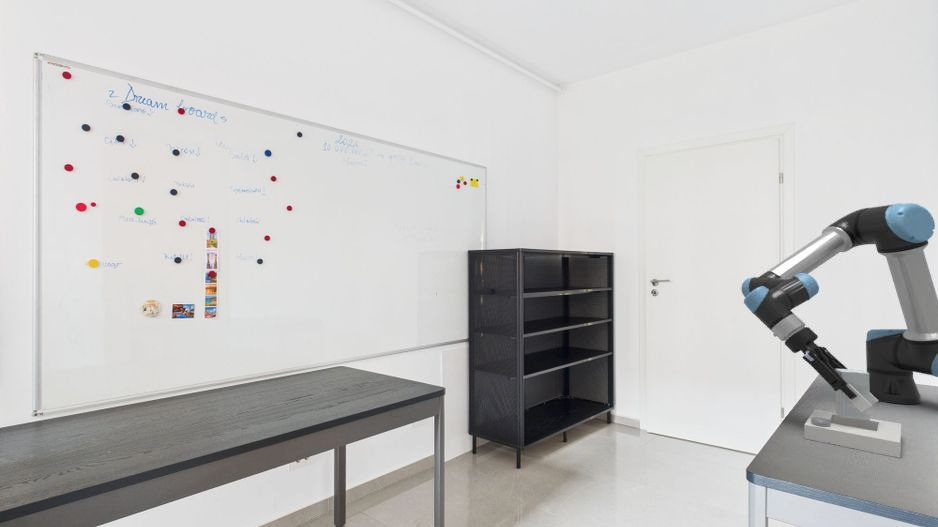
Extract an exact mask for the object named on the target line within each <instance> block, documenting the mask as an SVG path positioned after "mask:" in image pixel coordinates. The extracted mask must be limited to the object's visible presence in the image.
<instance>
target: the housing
mask: <svg viewBox="0 0 938 527" xmlns="http://www.w3.org/2000/svg"><path fill="white" fill-rule="evenodd" d="M803 428H804V429H803V430H804V436H803V437H804V439H805V440H810V441H815V442H820V443H825V444H829V443H830V444H829V445H834V444H835V446H839V445H840V446H839V447H845V448H849V449H853V448H854V449H853V450H859V451H862V452H863V451H864V452H869V453H872V454H873V453H875V454H880V455H884V456H889V457H893V458H899V459H901V454H902V449H901V448H902V423H899V422H893V421H887V420H880V419H874V418H870V420H860V419H847V418H841V417H840V416H839V415H837V414H836V412H833V411H826V410H821V409H813V412H812V413H811V414H810V416H809V417H808V419H807V420H806V422H805V423H804V426H803Z"/></svg>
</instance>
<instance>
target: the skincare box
mask: <svg viewBox="0 0 938 527" xmlns="http://www.w3.org/2000/svg"><path fill="white" fill-rule="evenodd" d="M835 371H836V372H837V373H838V374H839V375H840V376H841V377H842V378H843V380H844V381H845V382H846V383H847V384H850V385H851V386H852V387H853V388H854V389H856V390H857V391H858V392H859V393H860V394H861V395H862V396H863V397H864V398H865V399H866V400H867V401H868V402H869V403H870V385H869V373H867V371H866V370H862V369H848V368H847V369H835ZM835 413H836V414H837V415H839V416H840V417H841V418H847V419H860V420H870V419H871V407H870V408H868V409H867V410H865V411H863V412H861V411H860V410H859V409H858V408H857V407H856V406H855V405H854V404H853V403H852V402H851V401H850V400H849V399H848V398H847V397H846V396H845V395H844V394H843V393H842V392H841V391H840V389H839V390H837V391H835Z"/></svg>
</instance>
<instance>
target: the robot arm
mask: <svg viewBox="0 0 938 527" xmlns="http://www.w3.org/2000/svg"><path fill="white" fill-rule="evenodd" d="M935 226H936V224H935V220H934V217H933V216H932V213H931V212H930V211H929V210H928V209H927V208H926V207H924V206H921V205H920V204H917V203H913V202H908V203H892V204H888V205H887V204H886V205H881V206H875V207H874V206H873V207H865V208H860V209H857V210H854V211H852V212H850V213H848V214H846V215H844V216H842V217H841V218H839V219H838V220H836V221H834V222H833V223H831V224H829V225H828V226H826V227H825V228H823V230H822V231H821V234H820V235H819V236H818V237H816V238H814V239H813V240H811V241H810V242H808V243H807V244H806V245H804V246H803V247H800V249H798V250H797V251H795V252H794V253H793V254H791V255H789V256H788V257H786V258H785V259H783V260H782V261H781V262H779V263H777V264H776V265H774V266H773V267H772V268H770V269H769V270H767V271H766V272H764V273H762V274H761V275H759V276H758V277H755V276H753V277H748V278H746V279H745V280H744V281H743V282H742V283H741V287H740V288H741V294H742V295H743V296H744V299H743V303H744V305H745V307H746V308H747V309H748V310H749V311H750V312H751V313H752V315H754V316H756V318H757V319H758V320H759V321H761V322H762V324H764V326H765V327H767V328H768V329H769V330H770V331H771V332H772V333H773V334H772V335H773V337H775V338H776V337H777V338H778V339H779V340H780V341H781V342H784V345H785V346H786V347H787V348H788V349H789V350H790V351H791V352H792V353H793V354H797V353H799V352H802V353H803V356H802V359H803V360H804V361H805V362H806V363H808V364H809V366H811V367H812V368H813V370H814V371H816V373H817V374H819V375H820V376H821V377H822V378H823V379H824V380H825V382H827V384H828V385H829V386H830V387H831V388H832V390H833V391H835V392H836V391H837V390H839V389H840V391H841V392H842V393H843V394H844V395H845V396H846V397H847V398H848V399H849V400H850V401H851V402H852V403H853V404H854V405H855V406H856V407H857V408H858V409H859V410H860V411H861V412H863V411H865V410H867V409H868V408H870V409H871V407H873V405H874V404H876V403H877V402H885V403H890V404H891V403H892V404H899V405H918V404H920V403H922V402H921V393H920V392H919V391H920V390H919V389H918V386H917V384H916V381H915V379H914V373H919V374H923V375H927V376H933V377H935V378H938V296H937V292H936V288H935V285H934V282H933V278H932V275H931V272H930V269H929V264H928V261H927V258H926V254H925V252H924V250H925V249H926V247H928V245H929V240H930V239H931V238H932V237H933V235H934V233H935V231H934V230H935V228H936V227H935ZM865 245H866V246H867V245H875V248H876V250H877V253H878V255H882V256H883V257H885V258H886V262H887V265H888V269H889V272H890V275H891V278H892V281H893V286H894V288H895V292H896V295H897V298H898V302H899V305H900V308H901V312H902V315H903V319H904V321H905V326H906V328H905V329H904V328H900V329H898V328H895V329H894V328H892V329H891V328H890V329H888V328H887V329H885V328H884V329H874V328H873V329H869V330H868V331H867V332H866V340H865V355H866V357H865V358H866V372H867V373H869V385H870V403H869V402H868V401H867V400H866V399H865V398H864V397H863V396H862V395H861V394H860V393H859V392H858V391H857V390H856V389H854V388H853V387H852V386H851V385H850V384H847V383H846V382H845V381H844V380H843V378H842V377H841V376H840V375H839V374H838V373H837V372H836V371H835V369H848V367H847V366H845V365H844V364H843V363H842V361H839V360H838V358H837V357H835V356H834V355H833V354H832V353H831V352H830V351H829V350H828V349H827V348H826V347H825V346H819V345H818V344H816V343H815V341H816V340H817V339H818V337H819V336H818V334H817V333H815V331H813V329H811V328H810V327H808V326H806V323H805V322H804V321H803V320H801V318H799V316H797V315H796V314H795V313H794V312H793V311H792V310H793V309H795V308H797V307H799V306H801V305H803V304H804V303H806V302H807V301H810V300H811V299H812V298H813V297H815V296H816V295H818V293H819V291H820V285H819V283H818V282H817V280H816V279H815V277H814V276H812V275H810V273H812V272H813V271H814V270H816V269H818V268H819V267H820V266H821V265H823V264H825V263H826V262H828V261H829V260H831V259H833V258H834V257H835V256H837V255H838V254H839V253H846V252H848V251H850V250H851V249H853V248H855V247H856V248H857V247H859V246H865Z"/></svg>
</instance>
